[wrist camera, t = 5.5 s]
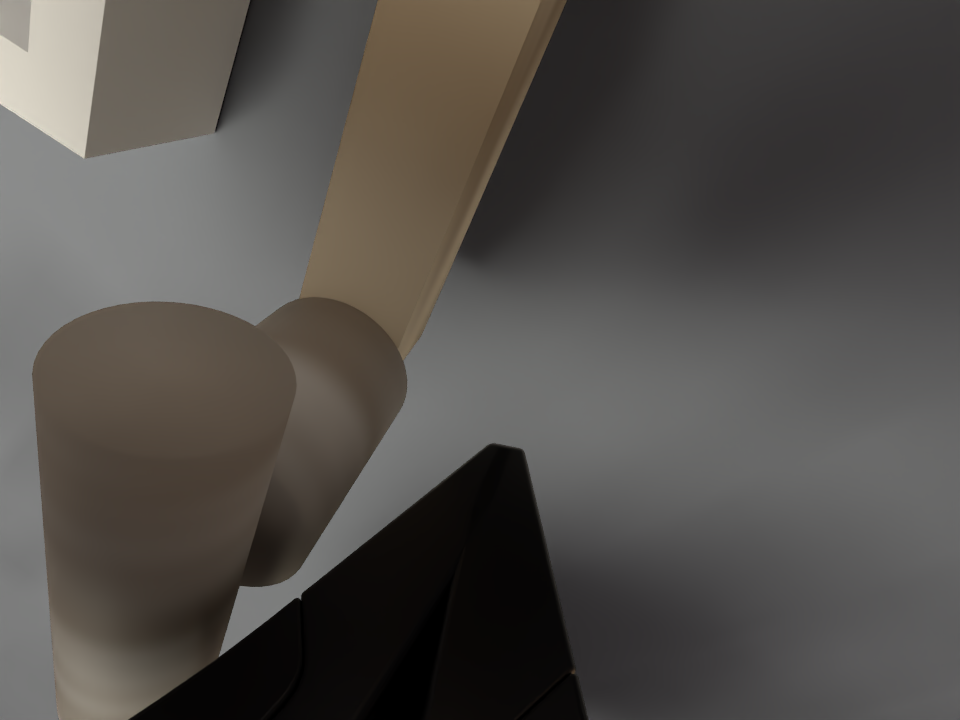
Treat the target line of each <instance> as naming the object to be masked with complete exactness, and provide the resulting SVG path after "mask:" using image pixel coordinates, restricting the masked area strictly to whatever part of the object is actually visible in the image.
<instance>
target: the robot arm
mask: <svg viewBox="0 0 960 720" xmlns="http://www.w3.org/2000/svg"><path fill="white" fill-rule="evenodd" d="M575 671H576V667H575V663H574V658H573V654H572V650H571V646H570V642H569V637H568V633H567V629H566V625H565V620H564V616H563V612H562V608H561V604H560V599H559V595H558V591H557V587H556V582H555V578H554V574H553V570H552V566H551V561H550V557H549V553H548V549H547V544H546V540H545V536H544V532H543V528H542V523H541V519H540V515H539V511H538V507H537V502H536V498H535V494H534V490H533V485H532V481H531V477H530V473H529V469H528V464H527V460H526V456H525V453H524V451H523V450H522V449H520V448H516V447H511V446H506V445H501V444H496V443H492V444H489V445H487V446H486V447H485V448H483V449H482V450H481V451H480V452H478V453H477V454H476V455H475V456H473V457H472V458H471V459H470V460H468V461H467V462H466V463H465V464H463V465H462V466H461V467H460V468H458V469H457V470H456V471H455V472H453V473H452V474H451V475H450V476H448V477H447V478H446V479H445V480H443V481H442V482H441V483H440V484H438V485H437V486H436V487H435V488H433V489H432V490H431V491H430V492H428V493H427V494H426V495H425V496H423V497H422V498H421V499H420V500H418V501H417V502H416V503H415V504H413V505H412V506H411V507H410V508H408V509H407V510H406V511H405V512H403V513H402V514H401V515H400V516H398V517H397V518H396V519H395V520H393V521H392V522H391V523H390V524H388V525H387V526H386V527H385V528H383V529H382V530H381V531H380V532H378V533H377V534H376V535H374V536H373V537H372V538H371V539H369V540H368V541H367V542H366V543H364V544H363V545H362V546H361V547H359V548H358V549H357V550H356V551H354V552H353V553H352V554H351V555H349V556H348V557H347V558H346V559H344V560H343V561H342V562H341V563H339V564H338V565H337V566H336V567H334V568H333V569H332V570H331V571H329V572H328V573H327V574H326V575H324V576H323V577H322V578H321V579H319V580H318V581H317V582H316V583H314V584H313V585H312V586H311V587H309V588H308V589H307V590H306V591H304V592H303V593H302V595H301V600H300V599H299V598H295V599H294V600H293V601H291V602H290V603H289V604H288V605H286V606H285V607H284V608H283V609H281V610H280V611H279V612H278V613H276V614H275V615H274V616H273V617H271V618H270V619H269V620H268V621H266V622H265V623H264V624H262V625H261V626H260V627H258V628H257V629H256V630H254V631H253V632H252V633H250V634H249V635H248V636H247V637H245V638H244V639H243V640H241V641H240V642H239V643H237V644H236V645H235V646H233V647H232V648H231V649H229V650H228V651H227V652H225V653H224V654H223V655H222V656H220V657H219V658H217V659H216V660H214V661H213V662H211V663H210V664H209V665H207V666H206V667H204V668H203V669H201V670H200V671H199V672H197V673H196V674H194V675H193V676H191V677H190V678H188V679H187V680H186V681H184V682H183V683H181V684H180V685H178V686H177V687H175V688H174V689H173V690H171V691H170V692H168V693H167V694H165V695H164V696H162V697H161V698H159V699H158V700H156V701H155V702H153V703H152V704H150V705H149V706H147V707H146V708H144V709H143V710H141V711H140V712H138V713H137V714H135V715H134V716H132V717H131V718H129V719H128V720H589V719H588V715H587V711H586V707H585V703H584V699H583V695H582V690H581V686H580V682H579V678H578V676H577V675H576V674H575Z"/></svg>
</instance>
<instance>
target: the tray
mask: <svg viewBox="0 0 960 720" xmlns="http://www.w3.org/2000/svg"><path fill="white" fill-rule="evenodd" d="M249 3H250V0H0V104H1V105H3V106H4V107H6V108H7V109H9V110H10V111H12V112H14V113H15V114H17V115H18V116H20V117H21V118H23V119H24V120H26V121H27V122H29V123H30V124H32V125H34V126H35V127H37V128H38V129H40V130H41V131H43V132H44V133H46V134H47V135H49V136H50V137H52V138H54V139H55V140H57V141H58V142H60V143H61V144H63V145H64V146H66V147H67V148H69V149H70V150H72V151H74V152H75V153H77V154H78V155H80V156H81V157H83V158H84V159H85V158H90V157H95V156H100V155H105V154H110V153H116V152H121V151H126V150H131V149H136V148H141V147H146V146H151V145H157V144H162V143H167V142H172V141H177V140H182V139H187V138H193V137H198V136H203V135H208V134H213V133H214V132H215V129H216V125H217V121H218V118H219V114H220V110H221V107H222V103H223V99H224V95H225V92H226V88H227V84H228V81H229V77H230V73H231V70H232V66H233V62H234V58H235V55H236V51H237V47H238V44H239V40H240V36H241V33H242V29H243V25H244V21H245V18H246V14H247V10H248V7H249Z"/></svg>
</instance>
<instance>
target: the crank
mask: <svg viewBox="0 0 960 720" xmlns="http://www.w3.org/2000/svg"><path fill="white" fill-rule="evenodd" d="M566 2H567V0H378V2H377V5H376V9H375V13H374V17H373V21H372V24H371V28H370V32H369V36H368V40H367V43H366V47H365V51H364V55H363V58H362V62H361V66H360V70H359V74H358V77H357V81H356V85H355V89H354V93H353V96H352V100H351V104H350V108H349V112H348V115H347V119H346V123H345V127H344V131H343V134H342V138H341V142H340V146H339V150H338V153H337V157H336V161H335V165H334V169H333V172H332V176H331V180H330V184H329V188H328V191H327V195H326V199H325V203H324V207H323V210H322V214H321V218H320V222H319V226H318V229H317V233H316V237H315V241H314V245H313V248H312V252H311V256H310V260H309V264H308V267H307V271H306V275H305V279H304V283H303V286H302V290H301V294H300V298H299V299H297V300H294V301H292V302H289V303H287V304H285V305H284V306H282V307H281V308H279V309H278V310H276V311H275V312H274V313H272V314H271V315H270V316H268V317H267V318H266V319H264V320H263V321H262V322H260V323H259V324H257V325H256V326H254V325H252V324H250V323H248V322H246V321H244V320H242V319H240V318H238V317H235V316H233V315H230V314H227V313H225V312H222V311H218V310H215V309H211V308H207V307H202V306H198V305H192V304H185V303H175V302H138V303H129V304H122V305H117V306H112V307H107V308H103V309H100V310H97V311H94V312H91V313H88V314H86V315H83V316H81V317H79V318H77V319H75V320H73V321H71V322H69V323H68V324H66V325H64V326H63V327H61V328H60V329H59V330H57V331H56V332H55V333H54V334H53V335H52V336H51V337H50V338H49V339H48V340H47V341H46V342H45V343H44V344H43V346H42V347H41V349H40V350H39V352H38V354H37V356H36V359H35V361H34V366H33V372H32V378H33V391H34V405H35V418H36V432H37V445H38V459H39V472H40V486H41V500H42V513H43V527H44V540H45V554H46V567H47V581H48V594H49V608H50V621H51V635H52V649H53V662H54V676H55V689H56V703H57V713H58V716H59V720H128V719H129V718H131V717H132V716H134V715H135V714H137V713H138V712H140V711H141V710H143V709H144V708H146V707H147V706H149V705H150V704H152V703H153V702H155V701H156V700H158V699H159V698H161V697H162V696H164V695H165V694H167V693H168V692H170V691H171V690H173V689H174V688H175V687H177V686H178V685H180V684H181V683H183V682H184V681H186V680H187V679H188V678H190V677H191V676H193V675H194V674H196V673H197V672H199V671H200V670H201V669H203V668H204V667H206V666H207V665H209V664H210V663H211V662H213V661H214V660H216V659H217V658H218V657H219V654H220V650H221V647H222V643H223V640H224V637H225V633H226V630H227V626H228V623H229V620H230V616H231V613H232V609H233V606H234V603H235V599H236V596H237V592H238V589H239V586H248V587H262V586H270V585H274V584H278V583H281V582H283V581H285V580H287V579H289V578H290V577H292V576H293V575H294V574H295V573H296V572H297V571H298V570H299V569H300V568H301V566H302V565H303V563H304V561H305V560H306V558H307V557H308V555H309V553H310V552H311V550H312V549H313V547H314V546H315V544H316V542H317V541H318V539H319V538H320V536H321V534H322V533H323V531H324V530H325V528H326V527H327V525H328V523H329V522H330V520H331V519H332V517H333V515H334V514H335V512H336V511H337V509H338V508H339V506H340V504H341V503H342V501H343V500H344V498H345V497H346V495H347V493H348V492H349V490H350V489H351V487H352V485H353V484H354V482H355V481H356V479H357V478H358V476H359V474H360V473H361V471H362V470H363V468H364V466H365V465H366V463H367V462H368V460H369V459H370V457H371V455H372V454H373V452H374V451H375V449H376V447H377V446H378V444H379V443H380V441H381V440H382V438H383V436H384V435H385V433H386V432H387V430H388V428H389V427H390V425H391V424H392V422H393V421H394V419H395V417H396V416H397V414H398V413H399V411H400V409H401V407H402V406H403V403H404V400H405V398H406V392H407V375H406V370H405V366H404V362H403V360H404V359H405V358H406V356H407V355H408V353H409V352H410V351H411V349H412V348H413V347H414V345H415V344H416V342H417V341H418V340H419V338H420V337H421V335H422V333H423V331H424V329H425V326H426V324H427V322H428V319H429V317H430V315H431V312H432V310H433V308H434V306H435V303H436V301H437V299H438V296H439V294H440V292H441V289H442V287H443V285H444V283H445V280H446V278H447V276H448V273H449V271H450V269H451V266H452V264H453V262H454V259H455V257H456V255H457V253H458V250H459V248H460V246H461V243H462V241H463V239H464V236H465V234H466V232H467V230H468V227H469V225H470V223H471V220H472V218H473V216H474V213H475V211H476V209H477V207H478V204H479V202H480V200H481V197H482V195H483V193H484V190H485V188H486V186H487V183H488V181H489V179H490V177H491V174H492V172H493V170H494V167H495V165H496V163H497V160H498V158H499V156H500V154H501V151H502V149H503V147H504V144H505V142H506V140H507V137H508V135H509V133H510V131H511V128H512V126H513V124H514V121H515V119H516V117H517V114H518V112H519V110H520V107H521V105H522V103H523V101H524V98H525V96H526V94H527V91H528V89H529V87H530V84H531V82H532V80H533V78H534V75H535V73H536V71H537V68H538V66H539V64H540V61H541V59H542V57H543V55H544V52H545V50H546V48H547V45H548V43H549V41H550V38H551V36H552V34H553V32H554V29H555V27H556V25H557V22H558V20H559V18H560V15H561V13H562V11H563V8H564V6H565V4H566Z"/></svg>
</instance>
